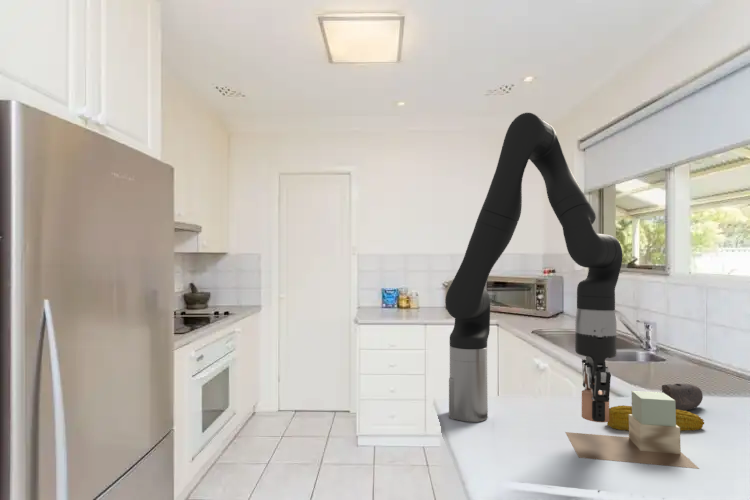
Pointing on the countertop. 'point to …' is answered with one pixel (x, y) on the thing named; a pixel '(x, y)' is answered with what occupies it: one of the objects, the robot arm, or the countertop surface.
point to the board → (622, 451)
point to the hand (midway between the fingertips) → (595, 416)
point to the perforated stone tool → (684, 395)
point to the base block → (654, 437)
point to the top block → (653, 408)
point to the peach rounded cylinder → (588, 406)
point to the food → (621, 413)
